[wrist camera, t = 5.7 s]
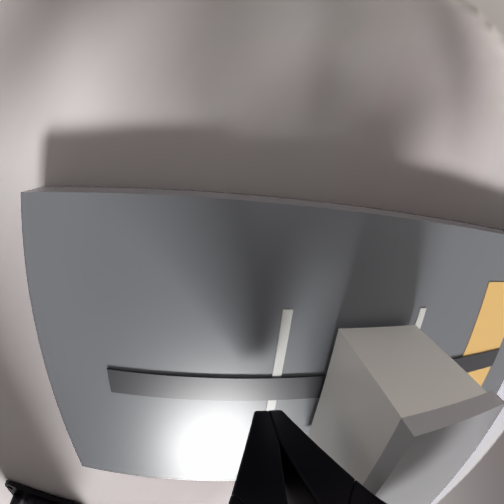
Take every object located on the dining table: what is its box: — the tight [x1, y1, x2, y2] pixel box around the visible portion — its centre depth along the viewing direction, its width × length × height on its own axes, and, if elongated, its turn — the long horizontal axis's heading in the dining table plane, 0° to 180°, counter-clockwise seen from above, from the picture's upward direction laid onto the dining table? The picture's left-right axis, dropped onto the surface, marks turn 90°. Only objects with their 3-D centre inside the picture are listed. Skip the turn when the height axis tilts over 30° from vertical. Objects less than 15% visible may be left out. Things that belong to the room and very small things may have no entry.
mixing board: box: [21, 187, 504, 481], centre depth 11 cm, size 22×12×2 cm, turn 84°
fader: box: [308, 325, 504, 504], centre depth 8 cm, size 3×5×5 cm, turn 174°
